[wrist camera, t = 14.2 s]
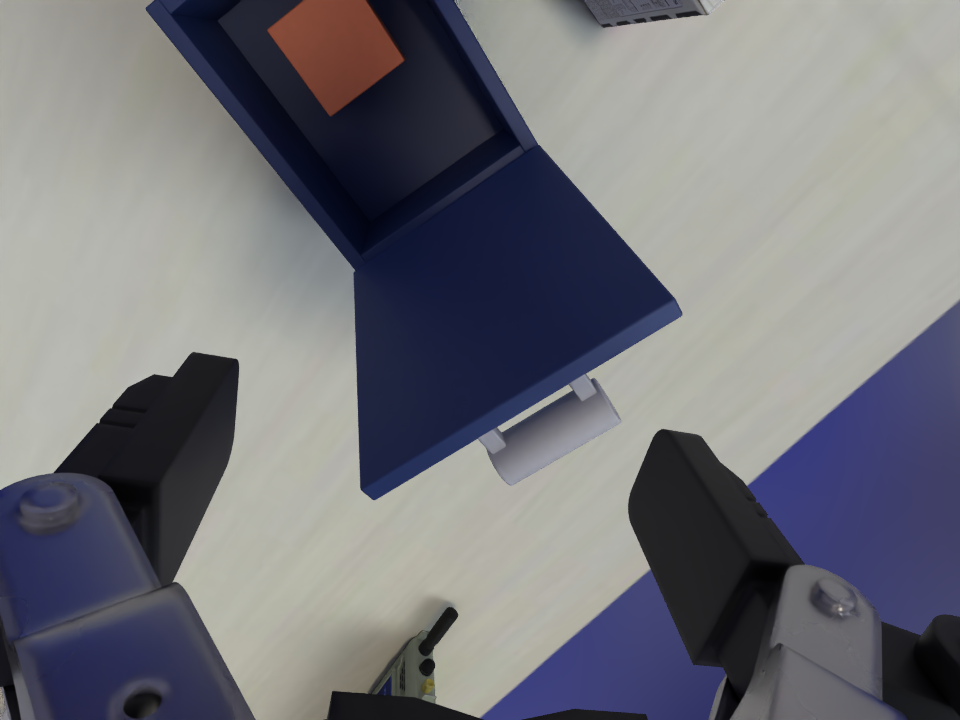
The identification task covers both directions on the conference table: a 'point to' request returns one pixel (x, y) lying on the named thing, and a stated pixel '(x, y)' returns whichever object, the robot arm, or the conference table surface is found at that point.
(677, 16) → the candy bar box
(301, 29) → the cube
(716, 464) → the robot arm
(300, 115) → the case
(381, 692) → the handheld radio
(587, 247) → the case lid
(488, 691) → the conference table surface
